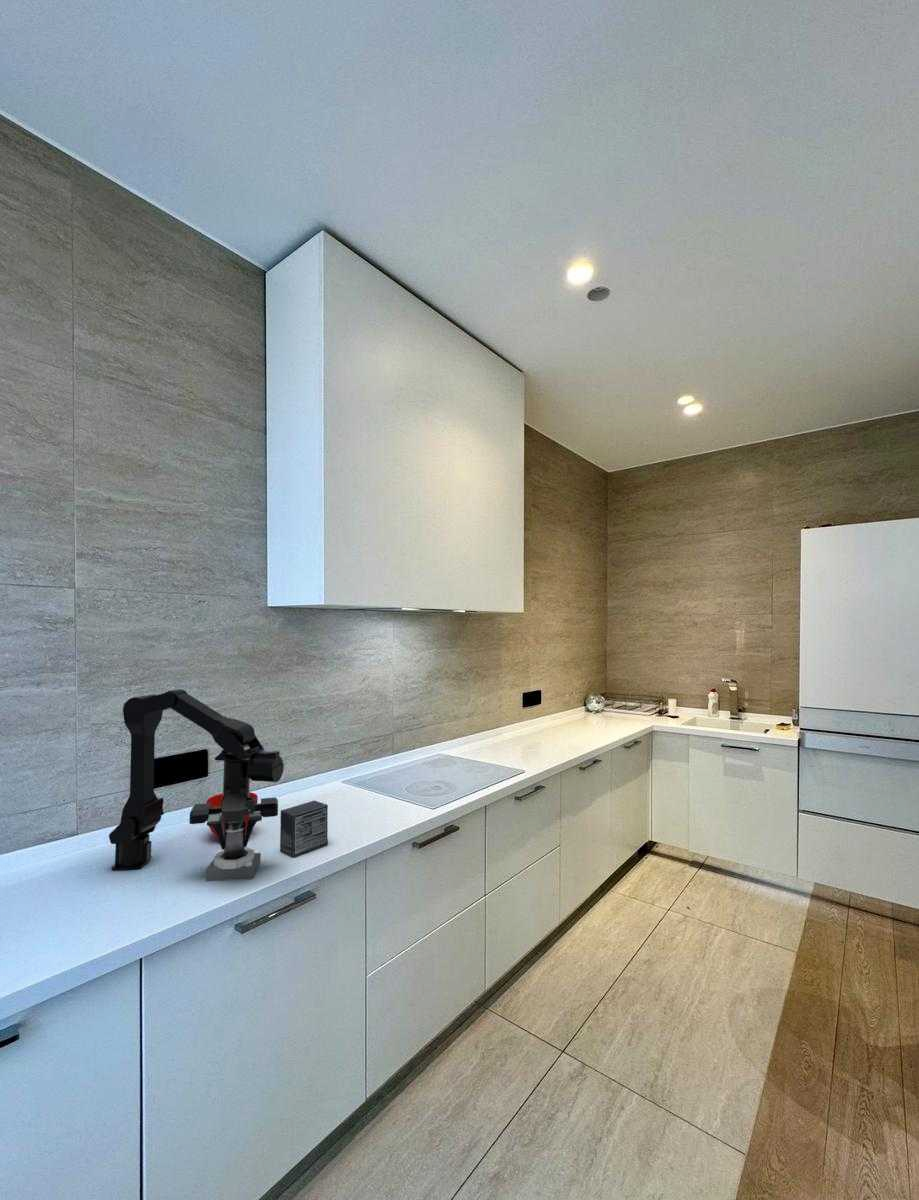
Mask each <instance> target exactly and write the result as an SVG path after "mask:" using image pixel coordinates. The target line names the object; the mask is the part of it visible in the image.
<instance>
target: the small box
mask: <svg viewBox="0 0 919 1200" xmlns="http://www.w3.org/2000/svg"><path fill="white" fill-rule="evenodd" d="M328 808H329V805H328V804H327V803H324V802H320V801H317V800H312V801H308V802H304V803H302V804H298V805H295V806H291V807H288V808H285V809H281V810H280V827H279V828H280V833H279V834H280V835H279V836H280V838H279V844H280V846H279V852H281V853H283V854H285V855H287V856H288V857H291V858H292V859H294V858H297V857H299V856H303V855H305V854H308V853H309V852H313V851H316V850H318V849H321V848H323V847H326V846H328V844H329V841H328V838H329V837H328V831H329V830H328V828H329V827H328V825H329V824H328V823H329V822H328V819H329V818H328V817H329V814H328V813H329V812H328Z"/></svg>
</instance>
